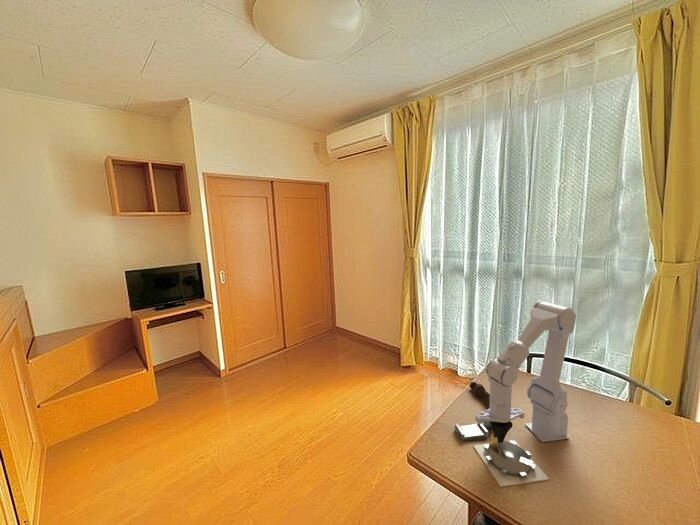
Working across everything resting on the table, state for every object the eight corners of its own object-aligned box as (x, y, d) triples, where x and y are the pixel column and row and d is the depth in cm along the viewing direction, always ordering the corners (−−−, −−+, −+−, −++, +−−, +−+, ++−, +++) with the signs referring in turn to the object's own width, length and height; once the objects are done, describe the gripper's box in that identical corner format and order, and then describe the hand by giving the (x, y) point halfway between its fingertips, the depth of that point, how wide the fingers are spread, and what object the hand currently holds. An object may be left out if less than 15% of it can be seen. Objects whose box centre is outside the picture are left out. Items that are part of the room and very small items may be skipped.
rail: (479, 427, 99) (479, 420, 99) (488, 438, 94) (488, 431, 94) (454, 430, 98) (454, 423, 98) (461, 441, 93) (462, 434, 93)
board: (514, 441, 92) (514, 439, 92) (548, 479, 79) (549, 478, 78) (473, 446, 91) (473, 445, 91) (500, 487, 77) (500, 485, 77)
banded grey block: (497, 423, 101) (497, 409, 100) (502, 429, 98) (502, 415, 97) (483, 424, 100) (483, 411, 99) (488, 431, 97) (488, 417, 96)
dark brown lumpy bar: (474, 392, 121) (498, 415, 107) (464, 388, 120) (487, 410, 106) (480, 380, 121) (505, 401, 106) (470, 376, 120) (494, 396, 105)
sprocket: (490, 436, 94) (490, 420, 93) (538, 456, 85) (539, 438, 85) (478, 463, 84) (478, 446, 83) (531, 489, 75) (532, 469, 75)
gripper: (514, 389, 91) (512, 428, 93) (470, 394, 89) (469, 433, 91) (530, 403, 84) (528, 445, 86) (483, 409, 82) (482, 451, 84)
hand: (499, 440), depth 88 cm, fingers closed
